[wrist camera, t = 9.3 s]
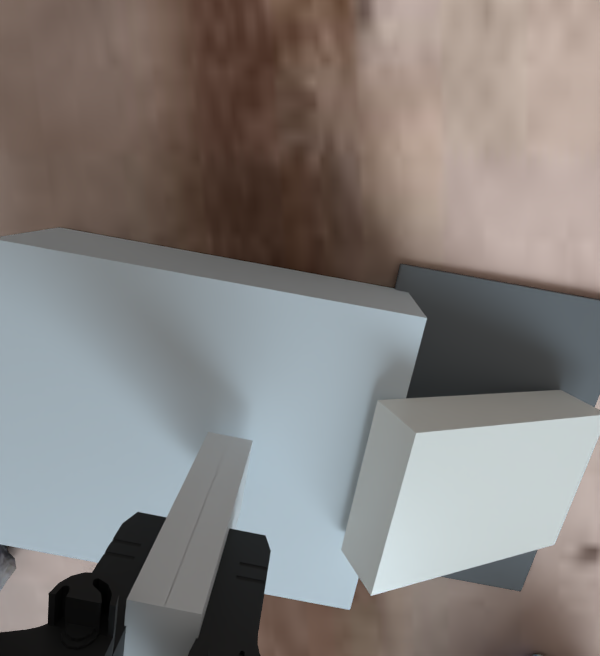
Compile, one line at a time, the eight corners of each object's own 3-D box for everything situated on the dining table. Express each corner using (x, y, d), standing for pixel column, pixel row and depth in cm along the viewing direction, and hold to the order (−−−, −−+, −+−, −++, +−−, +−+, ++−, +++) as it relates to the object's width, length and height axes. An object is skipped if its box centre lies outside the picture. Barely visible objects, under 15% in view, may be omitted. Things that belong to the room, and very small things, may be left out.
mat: (331, 551, 22) (332, 556, 22) (400, 263, 18) (401, 264, 18) (518, 586, 22) (520, 591, 22) (629, 305, 18) (634, 306, 18)
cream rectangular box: (341, 549, 17) (371, 595, 15) (377, 400, 15) (416, 433, 13) (515, 511, 21) (554, 544, 19) (560, 389, 19) (608, 414, 17)
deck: (54, 482, 22) (-3, 543, 18) (59, 227, 19) (-11, 238, 15) (346, 536, 22) (349, 609, 18) (406, 290, 19) (427, 318, 15)
